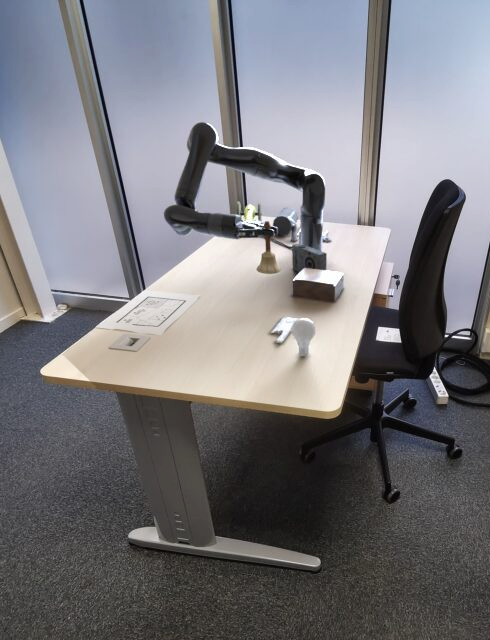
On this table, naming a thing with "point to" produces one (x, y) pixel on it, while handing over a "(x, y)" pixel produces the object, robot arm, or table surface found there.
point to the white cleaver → (284, 328)
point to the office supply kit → (290, 224)
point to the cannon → (249, 212)
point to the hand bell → (268, 257)
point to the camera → (307, 258)
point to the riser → (318, 284)
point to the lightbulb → (303, 334)
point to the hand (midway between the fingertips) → (275, 231)
